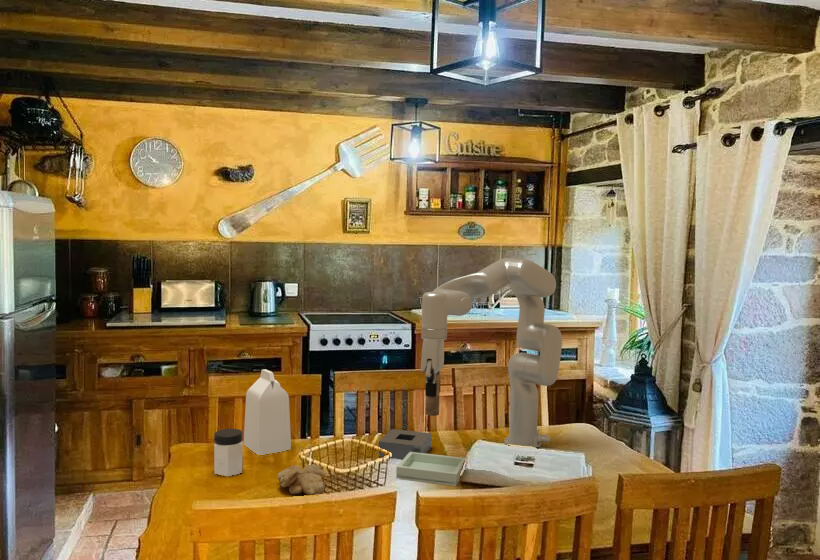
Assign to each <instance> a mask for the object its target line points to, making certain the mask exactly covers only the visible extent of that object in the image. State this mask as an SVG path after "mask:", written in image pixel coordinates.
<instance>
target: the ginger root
mask: <svg viewBox="0 0 820 560" xmlns="http://www.w3.org/2000/svg"><path fill="white" fill-rule="evenodd" d="M322 474H323V475H324V476H326V475H327V474H326V473H325V471H324V470H323V469H322V467H321V465H320V466H318V465H315V464H312V465H309V463H307V464H306V466H305V467H303V468H301V467H300V466H298V465H297V464H295V465H291V466H289V467H286V468H285V469H283V470H282V471H280V472H278V473H277V476H276V478H277V480H278V482H279V486H280V487H283V488H288V491H289V494H291V495H297V494H298V495H299V494H301V493H304V494H306V495H307V496H310V495H315V494H319V495H321V494H323V492H324V491H325V487H326V483H325V481H324V482H322V477H321V475H322Z"/></svg>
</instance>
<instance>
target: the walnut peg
mask: <svg viewBox="0 0 820 560" xmlns="http://www.w3.org/2000/svg"><path fill="white" fill-rule="evenodd" d="M440 374H441V373H440ZM440 374H438V373H436V383H437V392H436V397H430V396H426V395H425V415H426V416H431V417H436V416H439V415H440V393H441V382H440V380H441V378H440ZM431 376H433V375H431Z"/></svg>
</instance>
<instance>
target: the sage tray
mask: <svg viewBox="0 0 820 560" xmlns="http://www.w3.org/2000/svg"><path fill="white" fill-rule="evenodd" d="M465 459H466V460H467V457H461V456H460V457H459V456H450V455H442V454H433V453H427V454H425V453H417V452H409V453H408V454H407V455H406V457H405V458H404V459H401V461H400V462H399V464H397V466H396V470H395V471H396V477H395V478H396V479H397V478H399V479H398V480H405V481H414V482H421V483H428V484H429V483H430V484H436V485H437V484H438V485H445V486H446V485H447V486H453V487H454V486H455V487H457V486H458V484H459V482H460V480H461V479H460V472H461V469H462V466H463V463H464V461H465ZM459 479H460V480H459Z"/></svg>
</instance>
